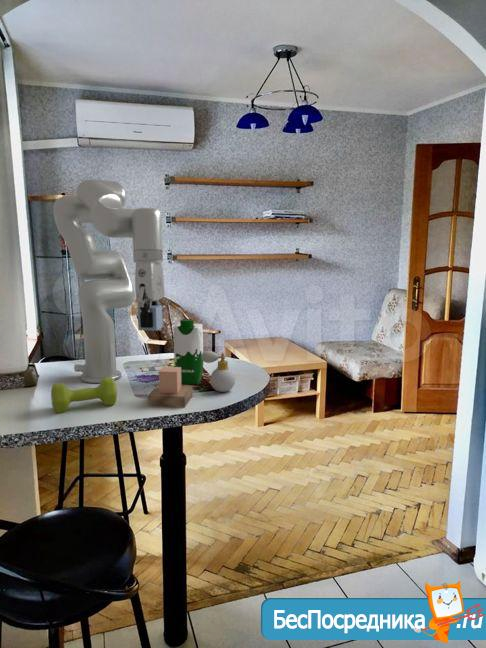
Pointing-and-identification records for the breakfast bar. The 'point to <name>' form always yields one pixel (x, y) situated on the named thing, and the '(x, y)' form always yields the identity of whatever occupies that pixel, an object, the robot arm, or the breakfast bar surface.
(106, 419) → the breakfast bar surface
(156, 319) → the slate block
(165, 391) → the terracotta block
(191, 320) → the milk carton
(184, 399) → the walnut base
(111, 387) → the dumbbell
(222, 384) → the perfume bottle
